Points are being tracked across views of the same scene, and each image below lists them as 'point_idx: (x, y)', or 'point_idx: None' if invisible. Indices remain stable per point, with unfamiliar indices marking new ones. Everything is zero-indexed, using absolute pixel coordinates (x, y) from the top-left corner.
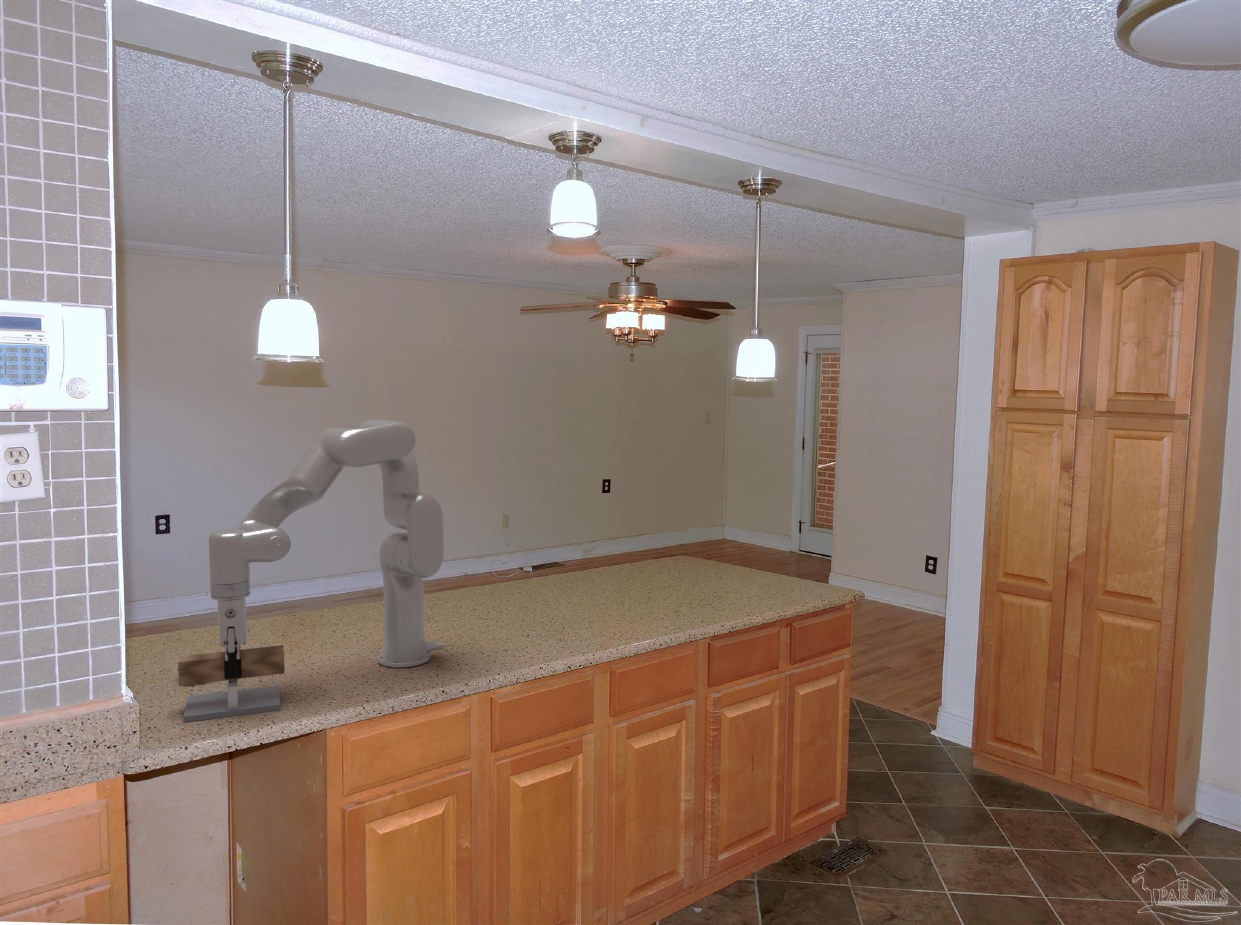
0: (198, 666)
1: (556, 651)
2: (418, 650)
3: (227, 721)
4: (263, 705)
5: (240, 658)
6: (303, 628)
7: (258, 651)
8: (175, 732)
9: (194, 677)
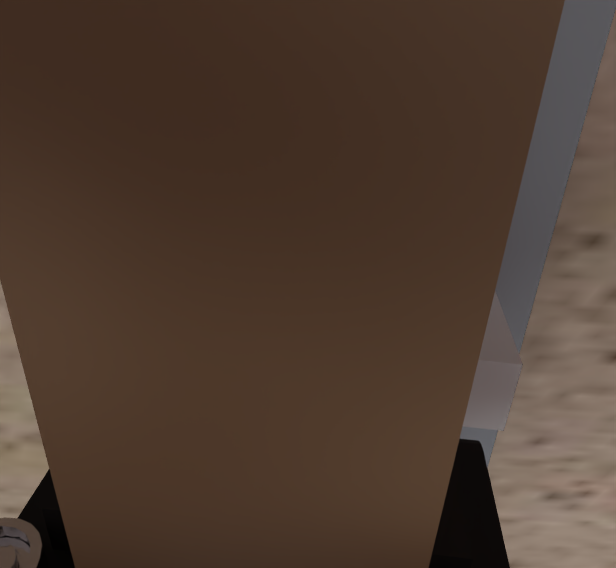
0: None
1: None
2: None
3: (602, 312)
4: (567, 77)
5: (452, 561)
6: None
7: (316, 333)
8: (589, 523)
9: None
